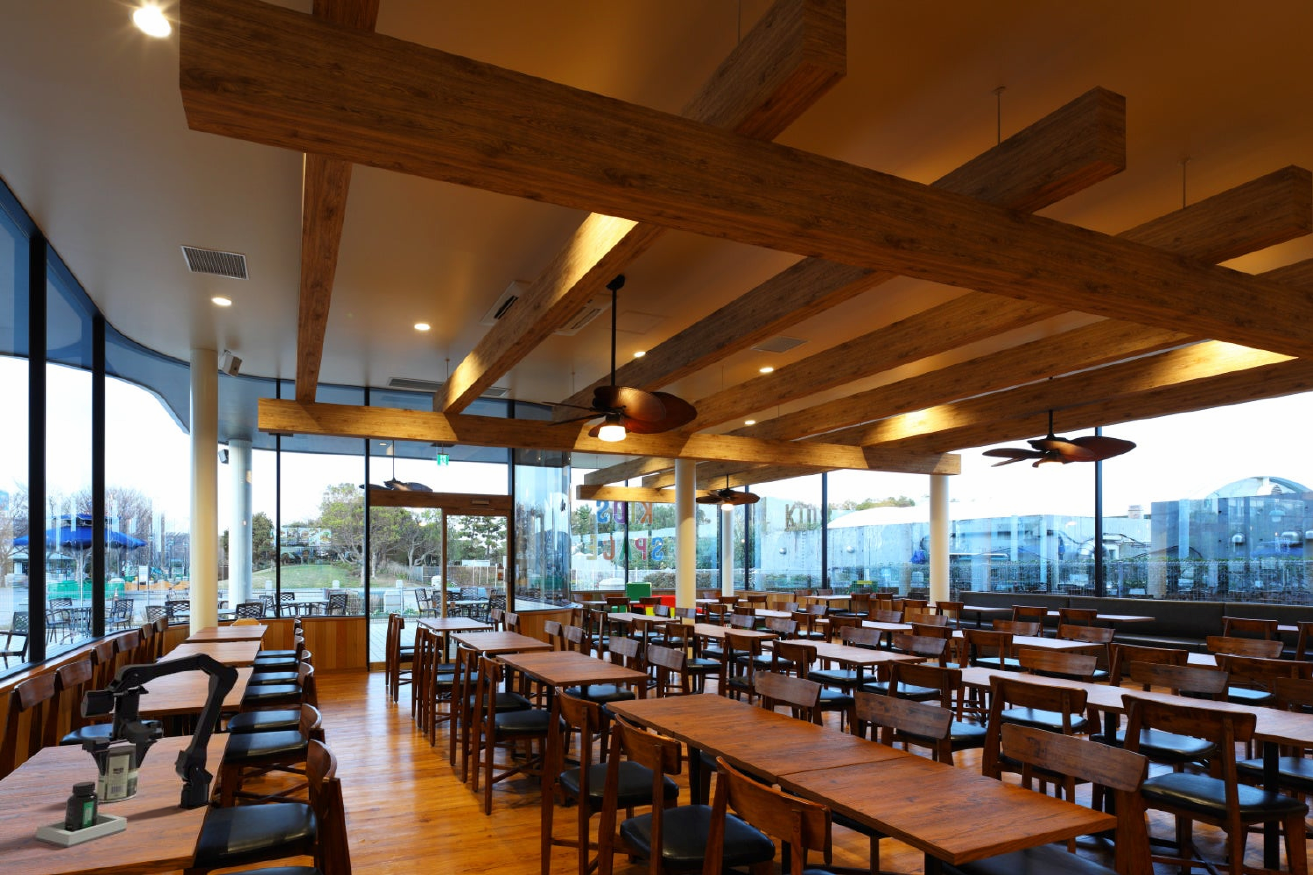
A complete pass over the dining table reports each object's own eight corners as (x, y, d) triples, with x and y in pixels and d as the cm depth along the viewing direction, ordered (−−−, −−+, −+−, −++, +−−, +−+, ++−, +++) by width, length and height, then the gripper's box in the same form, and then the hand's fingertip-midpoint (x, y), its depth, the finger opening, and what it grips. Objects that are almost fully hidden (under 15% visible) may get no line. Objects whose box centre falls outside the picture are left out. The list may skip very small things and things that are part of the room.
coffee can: (126, 791, 249) (130, 743, 251) (143, 796, 244) (147, 747, 246) (88, 799, 240) (93, 750, 242) (105, 805, 235) (109, 754, 237)
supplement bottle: (93, 833, 208) (98, 784, 210) (61, 838, 205) (65, 788, 207) (97, 826, 214) (101, 778, 216) (66, 830, 211) (70, 782, 213)
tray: (94, 823, 219) (95, 811, 219) (125, 830, 213) (126, 818, 213) (36, 839, 206) (37, 827, 207) (68, 847, 200) (69, 834, 201)
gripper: (108, 720, 212) (102, 783, 209) (177, 709, 228) (172, 767, 226) (83, 717, 217) (77, 778, 214) (153, 706, 233) (148, 763, 231)
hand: (120, 771), depth 221 cm, fingers open, 9 cm apart
